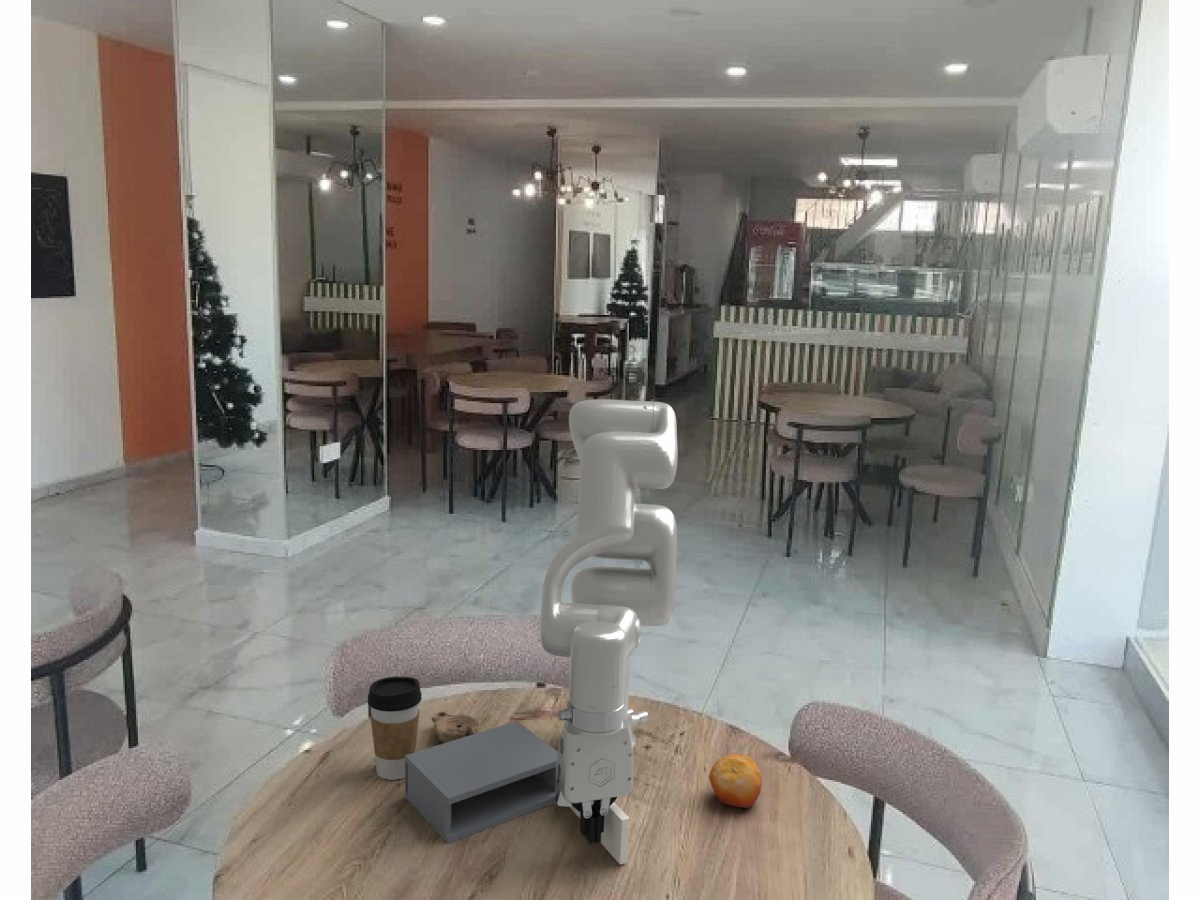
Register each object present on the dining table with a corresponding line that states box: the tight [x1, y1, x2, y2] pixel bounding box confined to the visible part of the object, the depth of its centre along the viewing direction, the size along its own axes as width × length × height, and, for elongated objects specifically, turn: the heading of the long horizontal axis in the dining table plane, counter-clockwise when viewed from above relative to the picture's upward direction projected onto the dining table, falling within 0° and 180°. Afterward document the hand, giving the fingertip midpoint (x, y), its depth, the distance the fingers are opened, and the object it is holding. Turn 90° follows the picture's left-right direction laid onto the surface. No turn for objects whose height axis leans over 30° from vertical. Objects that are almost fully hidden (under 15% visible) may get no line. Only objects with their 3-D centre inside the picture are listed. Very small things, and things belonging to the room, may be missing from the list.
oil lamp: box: [431, 710, 481, 744], centre depth 155 cm, size 13×8×5 cm, turn 36°
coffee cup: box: [367, 676, 423, 781], centre depth 144 cm, size 8×8×15 cm
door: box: [569, 801, 631, 865], centre depth 131 cm, size 18×2×7 cm, turn 29°
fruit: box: [708, 753, 763, 809], centre depth 141 cm, size 8×8×8 cm
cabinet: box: [404, 720, 558, 844], centre depth 138 cm, size 20×14×7 cm
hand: (591, 837), depth 125 cm, fingers closed
